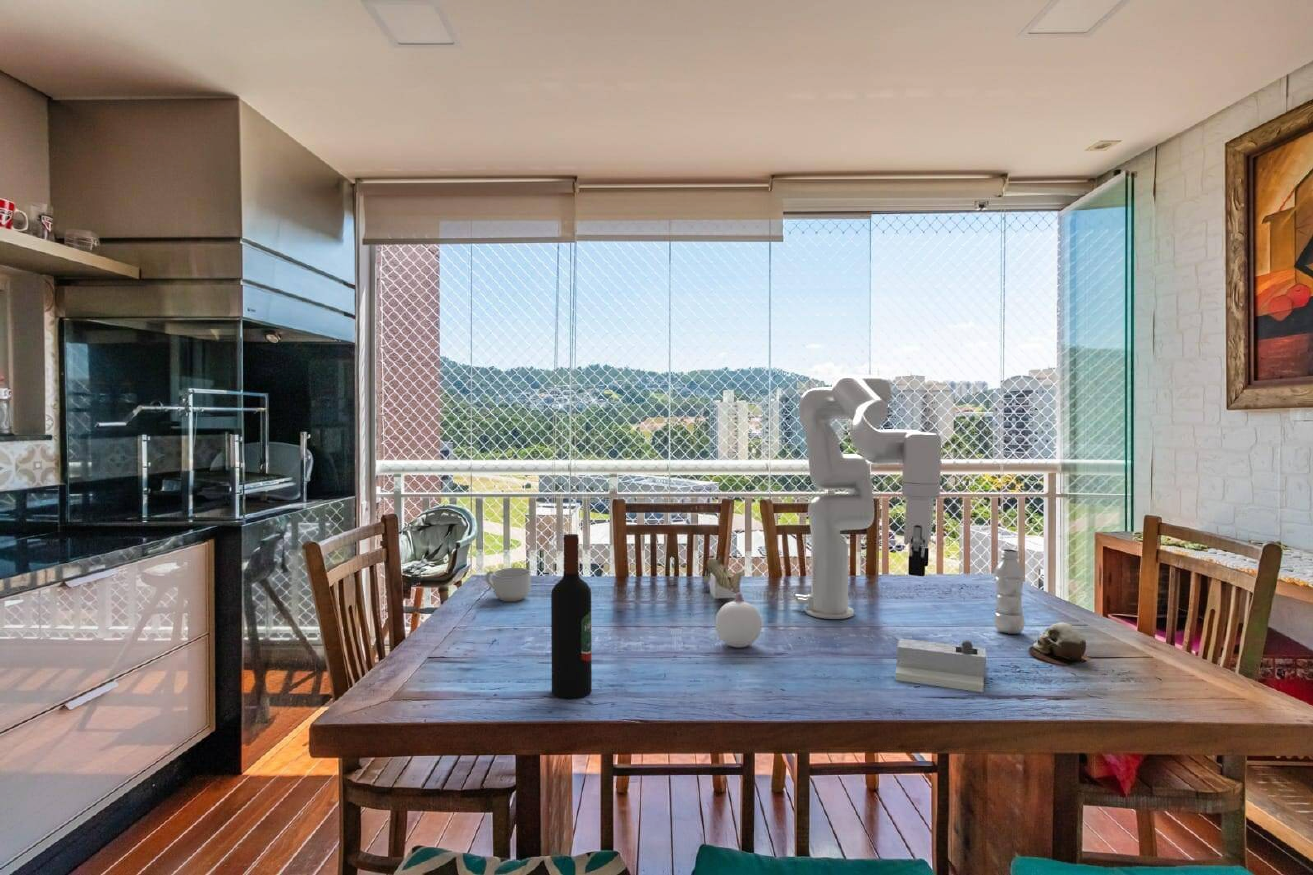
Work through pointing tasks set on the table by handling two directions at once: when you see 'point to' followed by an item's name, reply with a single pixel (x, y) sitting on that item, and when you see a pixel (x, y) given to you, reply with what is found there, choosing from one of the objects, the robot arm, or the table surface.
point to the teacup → (510, 583)
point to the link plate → (941, 658)
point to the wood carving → (722, 580)
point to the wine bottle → (571, 629)
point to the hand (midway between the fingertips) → (918, 570)
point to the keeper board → (942, 676)
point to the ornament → (738, 623)
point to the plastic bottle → (1009, 593)
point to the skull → (1061, 645)
